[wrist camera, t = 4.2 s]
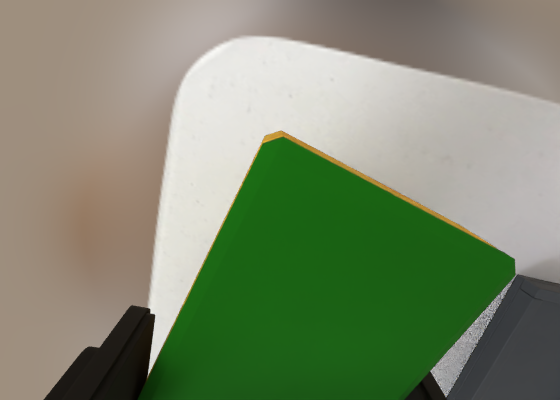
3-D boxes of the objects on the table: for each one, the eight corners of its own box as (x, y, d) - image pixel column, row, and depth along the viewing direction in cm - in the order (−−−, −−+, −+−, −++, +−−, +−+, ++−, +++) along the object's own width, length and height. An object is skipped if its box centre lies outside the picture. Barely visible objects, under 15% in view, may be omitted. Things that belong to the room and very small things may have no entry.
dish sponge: (123, 425, 12) (86, 504, 9) (270, 124, 8) (269, 130, 6) (273, 470, 13) (273, 550, 10) (464, 227, 9) (529, 267, 7)
